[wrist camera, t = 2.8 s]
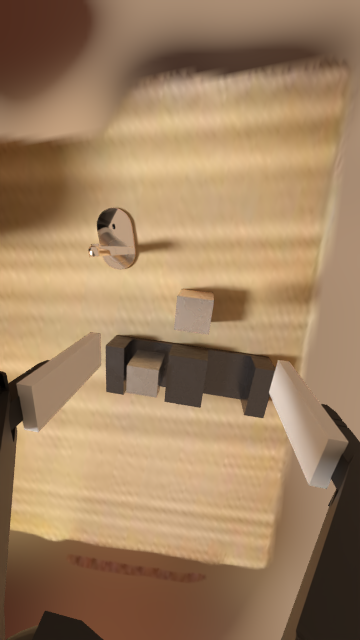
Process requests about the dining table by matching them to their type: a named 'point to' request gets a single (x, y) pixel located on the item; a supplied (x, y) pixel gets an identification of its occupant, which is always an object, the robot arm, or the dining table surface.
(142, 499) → the dining table surface
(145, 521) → the dining table surface
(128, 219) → the stand
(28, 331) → the dining table surface
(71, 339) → the dining table surface
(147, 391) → the light grey cube
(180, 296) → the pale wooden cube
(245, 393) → the rail
